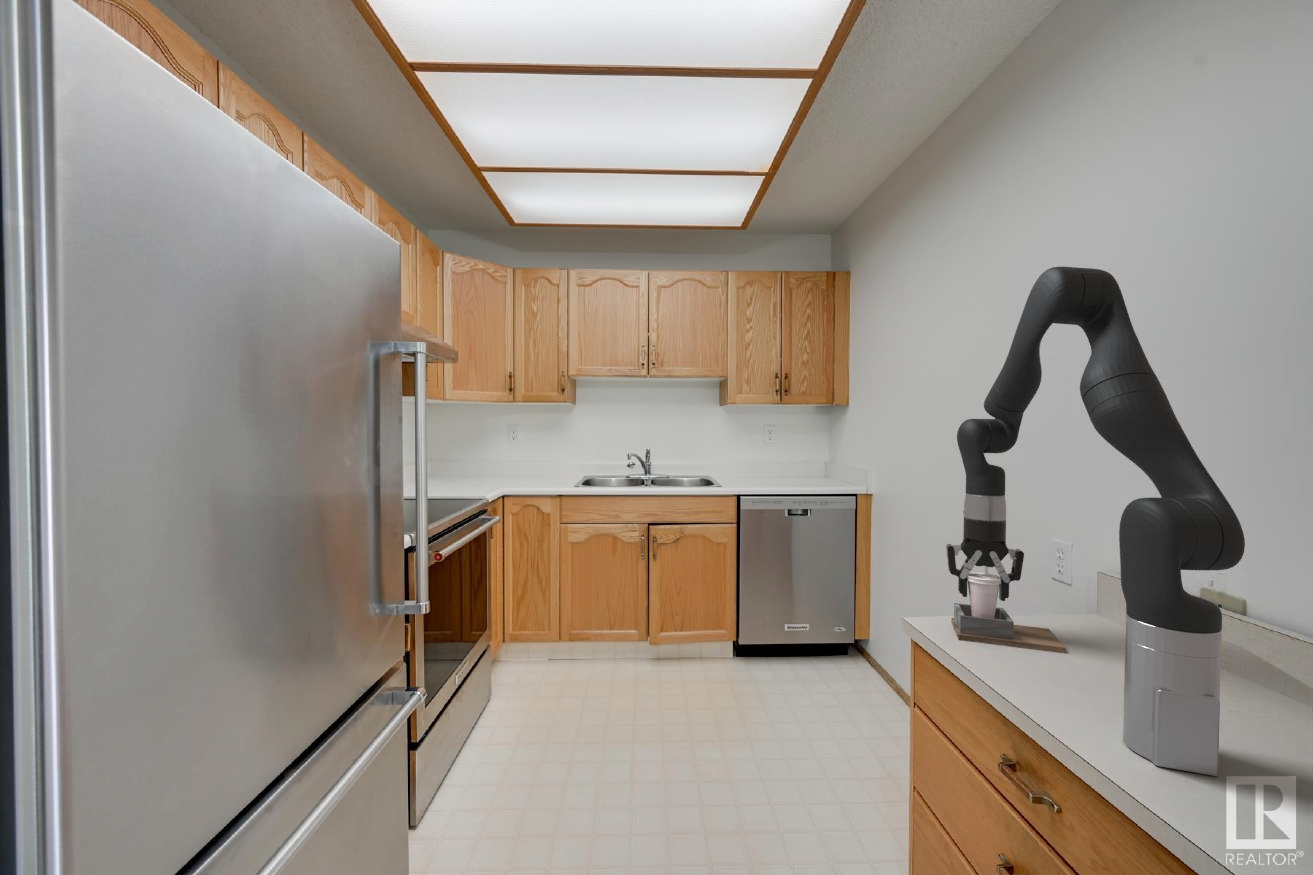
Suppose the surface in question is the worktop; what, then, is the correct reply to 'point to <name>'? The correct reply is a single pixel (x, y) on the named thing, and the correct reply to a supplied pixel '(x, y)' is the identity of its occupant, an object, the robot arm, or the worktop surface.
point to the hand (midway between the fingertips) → (983, 597)
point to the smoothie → (983, 593)
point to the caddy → (1002, 631)
